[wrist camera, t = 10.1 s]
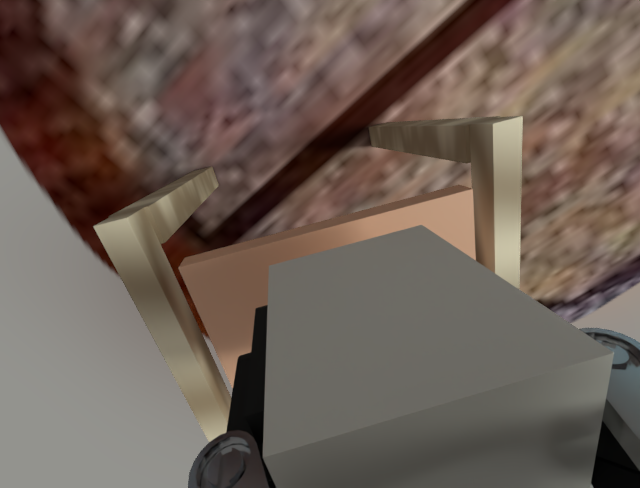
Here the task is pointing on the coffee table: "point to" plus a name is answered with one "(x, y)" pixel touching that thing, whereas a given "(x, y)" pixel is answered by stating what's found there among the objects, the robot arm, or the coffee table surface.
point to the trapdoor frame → (194, 188)
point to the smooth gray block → (423, 374)
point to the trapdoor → (258, 254)
